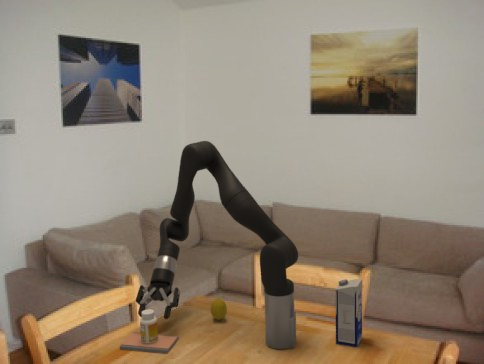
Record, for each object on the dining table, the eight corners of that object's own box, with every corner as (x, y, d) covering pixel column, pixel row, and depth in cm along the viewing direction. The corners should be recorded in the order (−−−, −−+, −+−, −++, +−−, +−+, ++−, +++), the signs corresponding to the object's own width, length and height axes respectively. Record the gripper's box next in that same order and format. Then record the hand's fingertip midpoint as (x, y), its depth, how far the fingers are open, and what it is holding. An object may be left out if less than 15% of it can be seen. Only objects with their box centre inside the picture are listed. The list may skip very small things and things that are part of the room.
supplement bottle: (160, 336, 179) (158, 308, 178) (156, 344, 174) (154, 315, 172) (143, 336, 180) (141, 308, 178) (139, 344, 175) (137, 315, 173)
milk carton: (357, 347, 169) (357, 285, 166) (335, 344, 172) (335, 283, 169) (362, 337, 176) (362, 278, 172) (341, 334, 179) (341, 275, 175)
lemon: (209, 318, 195) (208, 296, 193) (224, 315, 196) (223, 294, 195) (213, 324, 189) (212, 302, 188) (229, 322, 191) (228, 300, 190)
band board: (178, 338, 180) (178, 335, 180) (167, 353, 170) (167, 350, 170) (133, 335, 184) (133, 331, 184) (119, 349, 174) (119, 345, 174)
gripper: (141, 266, 187) (128, 311, 178) (180, 268, 184) (170, 314, 175) (148, 275, 193) (136, 320, 184) (186, 277, 190) (177, 323, 181)
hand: (153, 317), depth 180 cm, fingers open, 8 cm apart
